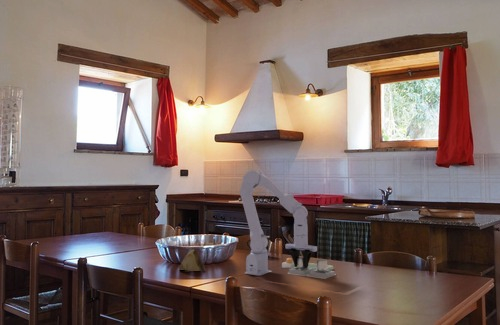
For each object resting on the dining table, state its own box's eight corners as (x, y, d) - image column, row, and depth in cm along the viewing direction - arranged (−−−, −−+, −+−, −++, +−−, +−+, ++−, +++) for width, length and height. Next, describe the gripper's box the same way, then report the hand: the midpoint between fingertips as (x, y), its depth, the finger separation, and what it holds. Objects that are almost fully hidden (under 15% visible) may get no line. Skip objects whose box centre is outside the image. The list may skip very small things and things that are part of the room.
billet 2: (324, 276, 185) (323, 261, 185) (315, 275, 188) (315, 260, 188) (328, 275, 188) (328, 259, 189) (320, 273, 191) (320, 258, 191)
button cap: (290, 266, 205) (290, 259, 205) (285, 265, 207) (285, 258, 207) (293, 265, 207) (293, 258, 208) (288, 264, 209) (288, 257, 209)
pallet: (324, 280, 182) (324, 274, 182) (286, 275, 193) (286, 269, 193) (336, 276, 189) (336, 270, 190) (299, 271, 201) (299, 265, 201)
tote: (324, 274, 194) (323, 268, 194) (293, 269, 203) (293, 264, 204) (333, 270, 201) (333, 265, 201) (303, 266, 210) (303, 262, 210)
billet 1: (303, 273, 192) (303, 258, 192) (295, 272, 194) (295, 257, 194) (308, 271, 195) (308, 257, 195) (300, 270, 197) (299, 256, 198)
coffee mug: (270, 254, 244) (270, 235, 245) (269, 257, 236) (269, 237, 236) (248, 254, 245) (248, 235, 246) (246, 257, 237) (246, 237, 237)
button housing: (291, 269, 204) (291, 264, 204) (281, 268, 207) (281, 262, 207) (297, 268, 208) (297, 262, 208) (288, 266, 211) (288, 261, 211)
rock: (172, 266, 202) (186, 266, 195) (180, 249, 207) (194, 248, 200) (188, 278, 208) (203, 278, 201) (196, 261, 212) (210, 260, 205)
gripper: (320, 235, 193) (321, 267, 193) (291, 232, 202) (291, 263, 202) (312, 236, 188) (312, 270, 187) (282, 234, 197) (282, 266, 196)
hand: (301, 267), depth 194 cm, fingers closed on billet 1, 4 cm apart
